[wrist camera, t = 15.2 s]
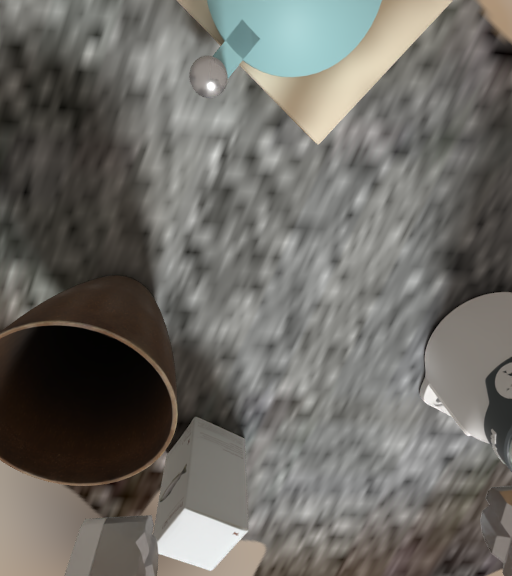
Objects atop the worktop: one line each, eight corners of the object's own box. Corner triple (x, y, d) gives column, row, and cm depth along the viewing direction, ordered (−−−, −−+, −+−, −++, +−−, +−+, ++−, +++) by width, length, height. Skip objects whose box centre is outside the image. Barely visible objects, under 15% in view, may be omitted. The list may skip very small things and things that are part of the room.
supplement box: (194, 413, 52) (185, 506, 41) (246, 437, 54) (251, 532, 43) (164, 453, 55) (147, 552, 43) (215, 475, 57) (212, 574, 45)
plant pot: (221, 323, 47) (218, 430, 33) (113, 389, 50) (67, 513, 36) (129, 211, 41) (77, 280, 27) (14, 292, 44) (-89, 393, 30)
